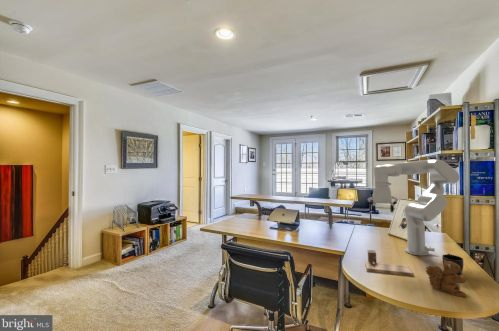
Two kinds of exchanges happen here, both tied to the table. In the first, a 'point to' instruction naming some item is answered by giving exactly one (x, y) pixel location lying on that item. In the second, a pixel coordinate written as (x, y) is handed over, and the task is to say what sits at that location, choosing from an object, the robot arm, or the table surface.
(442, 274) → the stuffed squirrel
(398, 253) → the table surface
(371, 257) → the walnut gauge
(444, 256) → the mug
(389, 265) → the teak board
